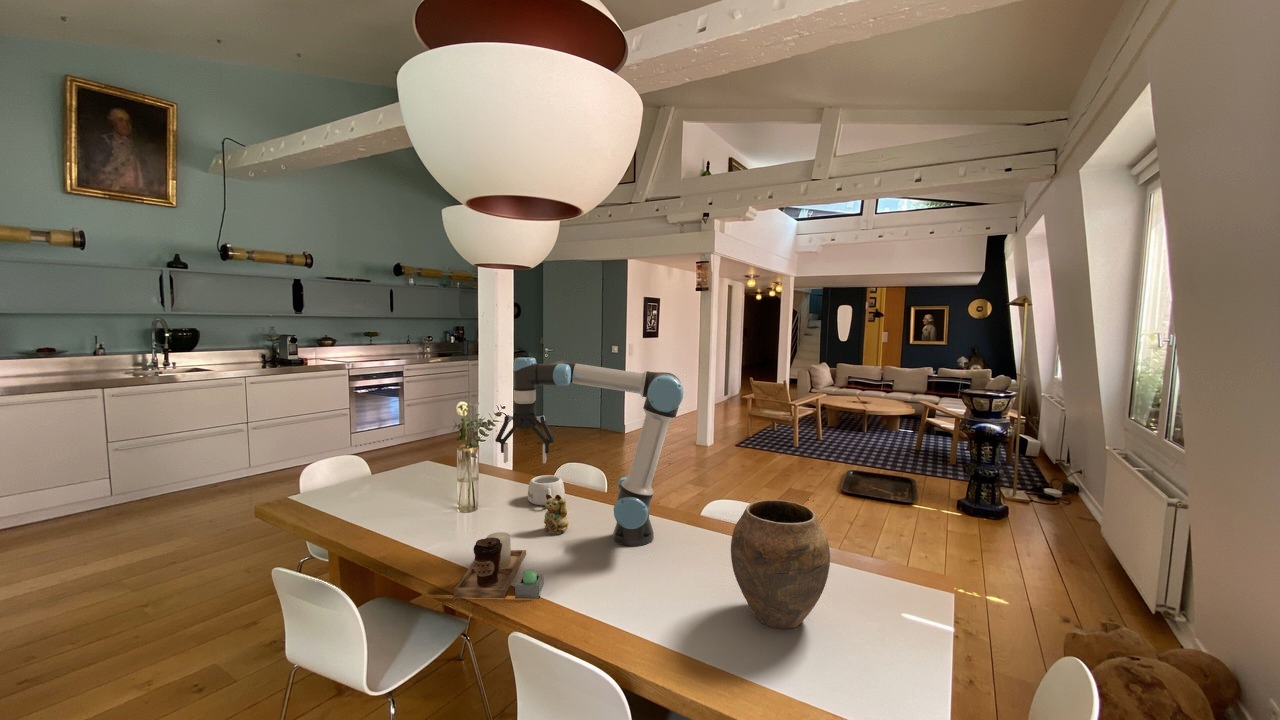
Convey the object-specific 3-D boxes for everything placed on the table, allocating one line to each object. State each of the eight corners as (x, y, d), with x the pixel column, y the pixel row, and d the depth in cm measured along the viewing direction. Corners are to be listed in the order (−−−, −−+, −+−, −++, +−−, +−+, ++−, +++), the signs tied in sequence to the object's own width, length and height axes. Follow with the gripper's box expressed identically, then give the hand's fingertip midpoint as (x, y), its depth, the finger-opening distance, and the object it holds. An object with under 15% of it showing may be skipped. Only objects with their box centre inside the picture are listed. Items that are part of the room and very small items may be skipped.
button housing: (543, 586, 158) (543, 574, 158) (539, 598, 151) (539, 585, 151) (521, 586, 158) (520, 573, 158) (515, 598, 151) (515, 585, 151)
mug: (525, 496, 241) (525, 475, 241) (561, 493, 246) (561, 472, 246) (530, 512, 221) (530, 489, 220) (569, 508, 226) (569, 486, 225)
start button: (537, 585, 157) (537, 569, 156) (535, 592, 153) (535, 576, 152) (524, 585, 157) (524, 569, 156) (521, 592, 153) (521, 575, 152)
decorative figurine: (540, 533, 199) (540, 495, 198) (549, 525, 207) (549, 488, 206) (564, 536, 196) (564, 497, 195) (572, 527, 204) (572, 490, 203)
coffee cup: (493, 591, 153) (493, 548, 152) (468, 588, 155) (467, 546, 154) (507, 577, 162) (506, 536, 161) (482, 574, 163) (482, 534, 162)
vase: (710, 616, 143) (712, 509, 141) (762, 583, 161) (764, 489, 159) (797, 660, 124) (800, 538, 122) (844, 617, 143) (848, 511, 141)
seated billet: (513, 558, 175) (513, 532, 174) (507, 568, 167) (507, 541, 167) (490, 558, 175) (490, 532, 174) (483, 568, 167) (483, 541, 167)
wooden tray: (526, 557, 178) (526, 550, 178) (505, 598, 151) (504, 590, 151) (482, 556, 178) (482, 549, 178) (453, 597, 151) (453, 589, 151)
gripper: (562, 400, 184) (562, 459, 185) (492, 400, 184) (492, 458, 186) (558, 404, 176) (558, 465, 178) (485, 403, 177) (486, 464, 178)
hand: (525, 462), depth 182 cm, fingers open, 13 cm apart
